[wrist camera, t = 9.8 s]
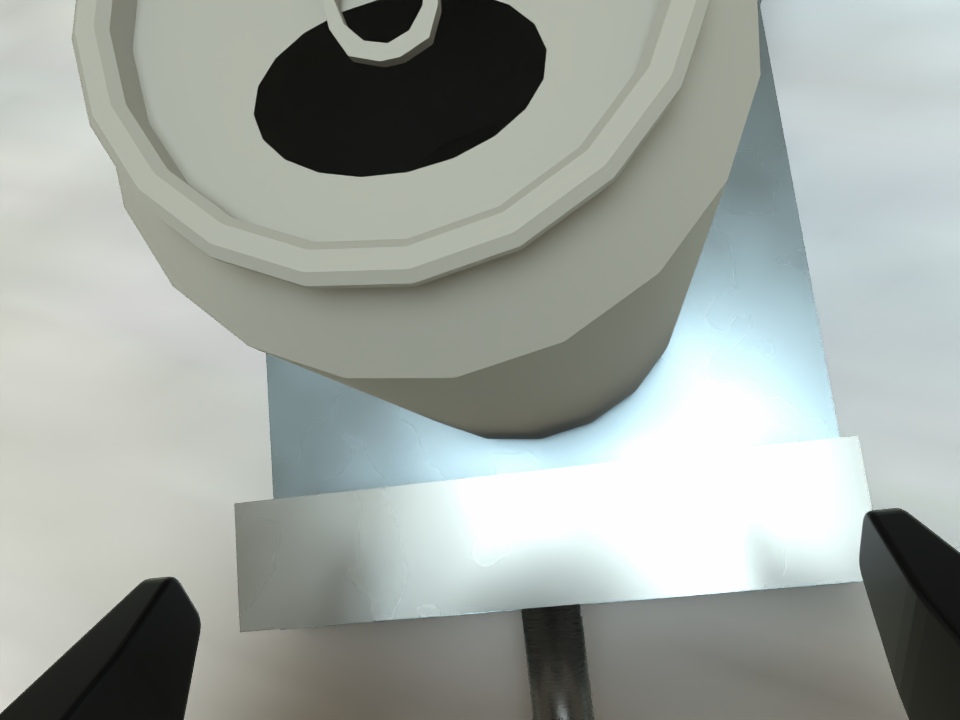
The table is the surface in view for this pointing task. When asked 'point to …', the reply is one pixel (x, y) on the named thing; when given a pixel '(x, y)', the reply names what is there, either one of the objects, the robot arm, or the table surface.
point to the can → (430, 183)
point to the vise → (582, 469)
